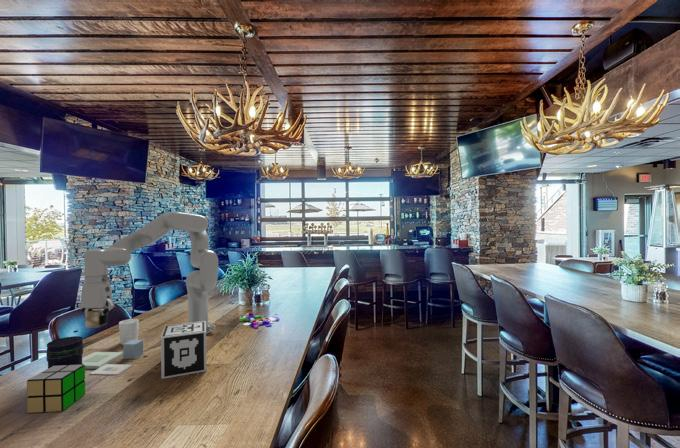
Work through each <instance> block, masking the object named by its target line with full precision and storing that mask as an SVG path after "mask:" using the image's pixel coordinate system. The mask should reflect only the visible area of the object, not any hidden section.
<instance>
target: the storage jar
mask: <svg viewBox="0 0 680 448" xmlns="http://www.w3.org/2000/svg"><path fill="white" fill-rule="evenodd" d="M78 332H79V331H78V330H73V333H78ZM83 355H84V338H83V336H77V335H75V336H66V337H61V338H57V339H53V340H51V341H49V342H48V343H46V361H47V369H49V368H50V367H52V366H61V365H68V366H69V365H83V363H82V358H83Z"/></svg>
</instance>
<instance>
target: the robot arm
mask: <svg viewBox="0 0 680 448" xmlns="http://www.w3.org/2000/svg"><path fill="white" fill-rule="evenodd" d="M208 228H209V221H208V219H207V218H206V217H205V216H203V215H200V214H194V213H186V212H181V211H168V212H167V211H166V212H164V213H162V214H160V215H158V216H156V217H155V218H153V219H152V220H151V221H150V222H148V223H146V224H145V225H143V226H142V227H141V228H139V229H137V230H134V231H133V232H131V233H129V234H128V235H126V236H124V237H122V238H120V239H119V240H117V241H116V242H114V243H113V244H111V245H109V247H107V248H105V249H104V248H96V249H95V248H94V249H87V250H86V251H84V253H83V254H84V257H83V258H84V261H83V263H84V264H83V265H84V270H83V271H84V274H83V275H84V282H83V285H82V289H81V297H80V302H79V304H78V306H77V307H78V308H79V309H80V310H81V311H82V312H83V314H84V316H85V312H88V311H91V310H94V309H99V310H100V314H101V315H100V316H99V325H103V326H105V325H107V324H108V314H109V312H110V311H111V310H112V309H113V308H114V307H115V304H114V302H113V293H112V287H111V282H110V281H109V280H110V276H108V266H111V267H113V266H114V267H122V266H124V265H127V264H128V263H129V262H131V259H132V254H131V253H132V252H134V251H137V250H138V249H140V248H144V247H148V246H150V245H153V244H155V243H156V242H157V241H159V240H160V239H161V238H163V237H164V236H165V235H167V234H168V233H170V232H171V231H175V230H176V231H181V232H182V231H183V232H186V233H187V234H188V236H189V238H190V255H189V256H190V257H189V258H190V259H189V262H190V265H191V266H192V267H193V268H197V269H199V270H193V271H190V272H189V273H188V275H187V276H186V279H185V287H186V291H187V315H188V316H187V323H191V322H199V321H206V335H207V334H209V333H211V332H212V331H214V330H216V327H217V326H216V324H211V321H209V294H208V292H211V291H212V290H214V289H215V288H216V286H217V283H218V277H219V276H218V275H219V257H218V255H217V253H216V252H215V251H213V250H210V249H209V248H210V239H209V238H210V237H209V234H208V232H207V229H208ZM103 309H104V310H103ZM106 323H107V324H106ZM104 324H105V325H104Z"/></svg>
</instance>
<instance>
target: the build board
mask: <svg viewBox="0 0 680 448" xmlns="http://www.w3.org/2000/svg"><path fill="white" fill-rule="evenodd" d="M121 357H123V351H122V352H121V351H120V352H119V351H117V352H116V351H115V352H114V351H94V352H91V353H90V354H88V355H85V356H82V363H83V365H85V370H86V369H87V370H88V369H89V370H91V369H92V370H97V369H98V368H100V367H102V366H104V365H106V364H111V363H112V362H114V361H116V360H118V359H119V358H121Z"/></svg>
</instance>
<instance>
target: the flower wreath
mask: <svg viewBox="0 0 680 448" xmlns="http://www.w3.org/2000/svg"><path fill="white" fill-rule="evenodd" d="M265 315H266V314H262V313H261V314H260V313H259V315H255V314H254V312H247V313H246V314H244V315H243V317H240V318H239V322H244V321H245V323H243V326H244V327H250V326H251V327H253V329H254V330H256V329H257V330H258V329H259V327H260V325H265V326H266V328H269V327H270V328H271V327H272V324H274V322H280V318H278V316H275V315H274V316H272V317H271V316H270V317H268V316H265ZM247 321H248V322H247Z"/></svg>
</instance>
